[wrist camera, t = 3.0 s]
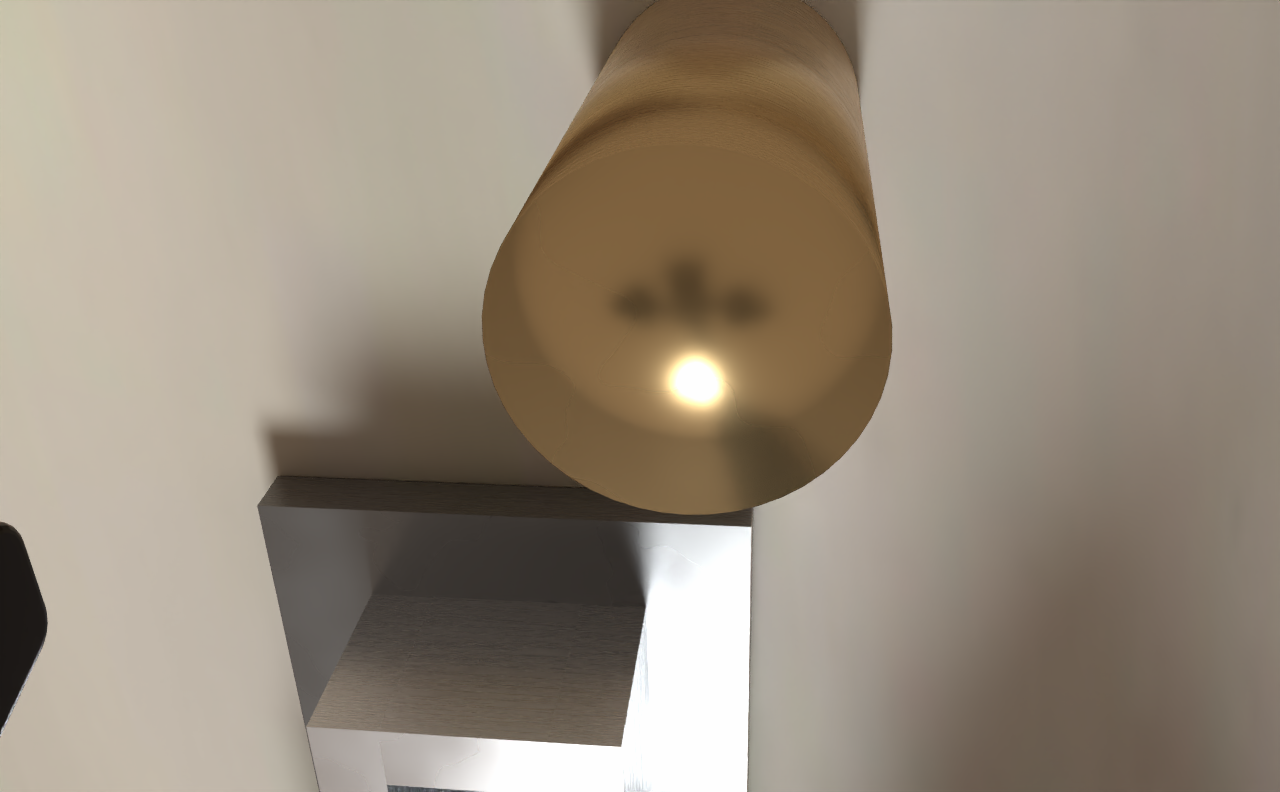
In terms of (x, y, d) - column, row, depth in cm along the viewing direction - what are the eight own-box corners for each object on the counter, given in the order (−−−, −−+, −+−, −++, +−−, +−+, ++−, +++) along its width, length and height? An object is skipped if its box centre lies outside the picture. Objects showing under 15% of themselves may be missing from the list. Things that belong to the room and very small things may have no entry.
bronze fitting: (867, -22, 18) (908, 146, 11) (851, 237, 20) (877, 522, 13) (594, -20, 18) (462, 142, 11) (605, 233, 20) (499, 506, 13)
